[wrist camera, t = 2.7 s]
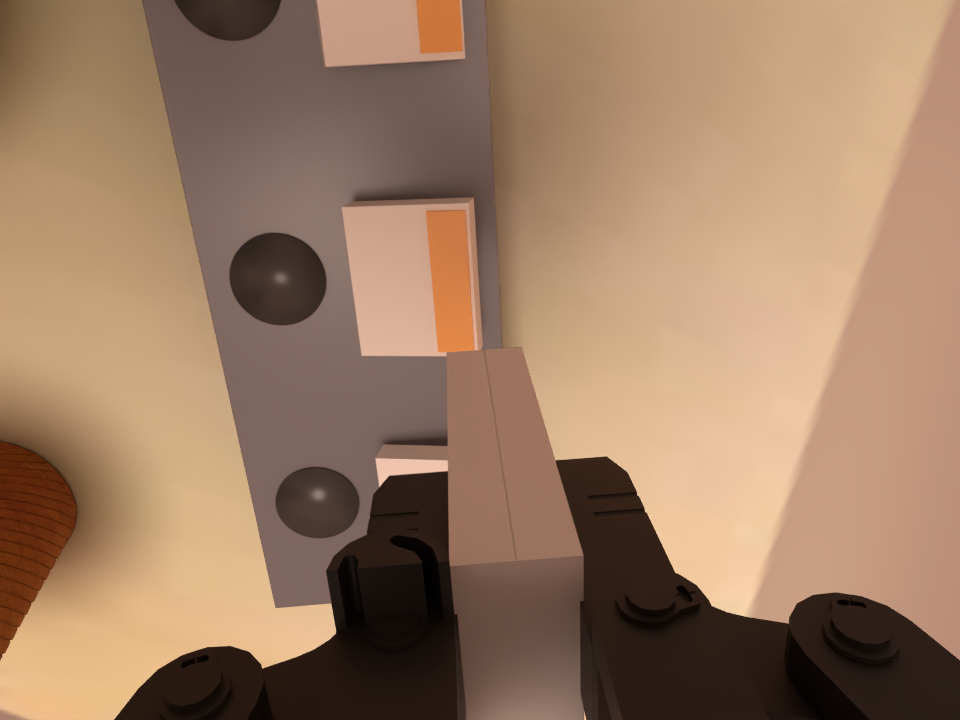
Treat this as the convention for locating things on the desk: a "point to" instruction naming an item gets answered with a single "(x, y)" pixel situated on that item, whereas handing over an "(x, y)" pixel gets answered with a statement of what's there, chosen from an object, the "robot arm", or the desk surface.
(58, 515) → the disposable coffee cup
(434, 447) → the rocker
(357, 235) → the middle rocker
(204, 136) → the power strip
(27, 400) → the desk surface
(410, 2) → the rocker
